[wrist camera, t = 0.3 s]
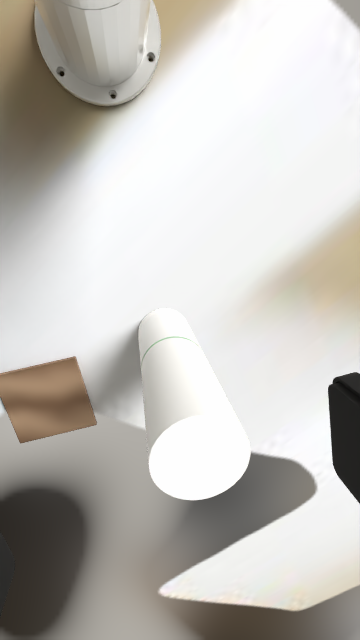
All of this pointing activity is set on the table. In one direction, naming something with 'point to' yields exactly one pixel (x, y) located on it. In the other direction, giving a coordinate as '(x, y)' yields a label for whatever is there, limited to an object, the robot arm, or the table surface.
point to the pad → (46, 399)
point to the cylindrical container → (186, 413)
